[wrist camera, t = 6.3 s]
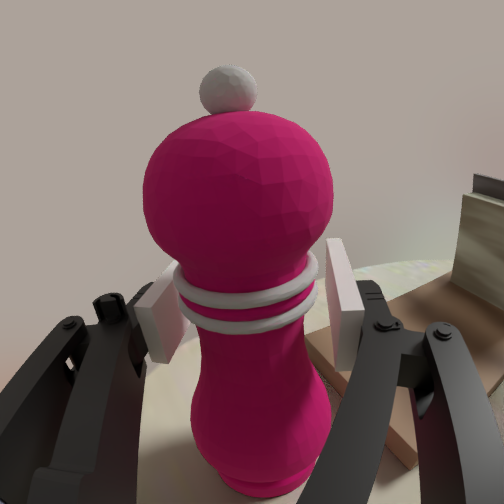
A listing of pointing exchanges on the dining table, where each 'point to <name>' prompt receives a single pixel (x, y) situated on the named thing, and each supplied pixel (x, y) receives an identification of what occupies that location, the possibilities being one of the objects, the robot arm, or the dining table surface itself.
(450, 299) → the wooden bookend
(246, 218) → the pepper mill
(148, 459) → the dining table surface
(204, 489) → the dining table surface
